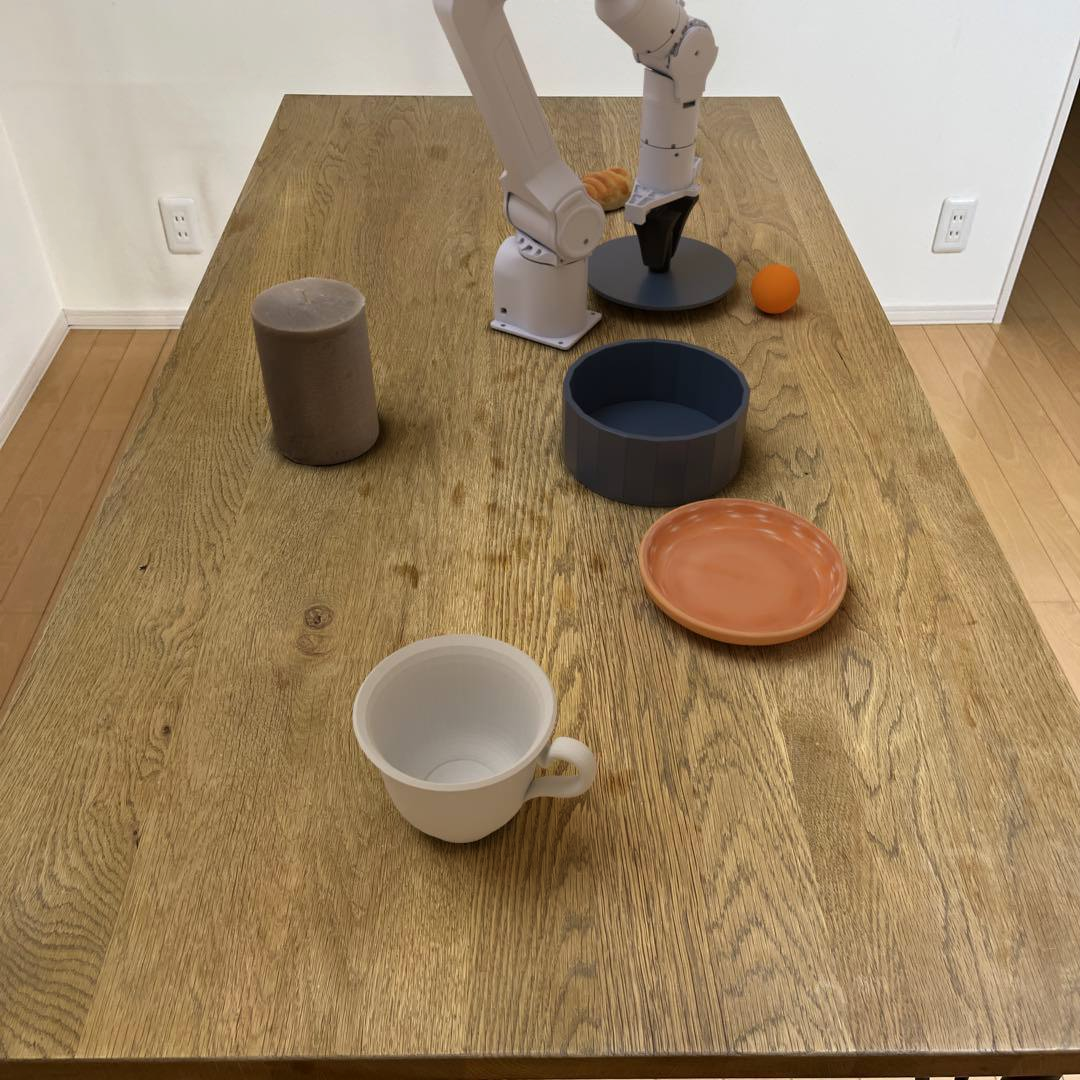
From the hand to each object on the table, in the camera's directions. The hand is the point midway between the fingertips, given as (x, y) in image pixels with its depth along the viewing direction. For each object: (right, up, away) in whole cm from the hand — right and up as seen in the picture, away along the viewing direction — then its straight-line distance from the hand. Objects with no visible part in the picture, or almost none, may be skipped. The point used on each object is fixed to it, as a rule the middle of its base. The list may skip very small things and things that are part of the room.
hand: (658, 260), depth 122 cm
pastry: (-5, +12, +20) cm, 24 cm away
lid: (0, -1, +1) cm, 1 cm away
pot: (-3, -23, -21) cm, 31 cm away
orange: (+12, -4, -3) cm, 13 cm away
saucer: (+3, -35, -35) cm, 49 cm away
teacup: (-17, -49, -51) cm, 72 cm away
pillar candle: (-33, -21, -19) cm, 43 cm away
